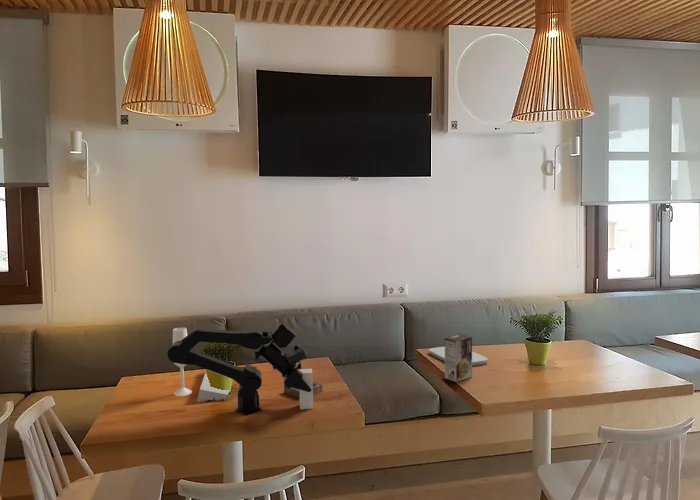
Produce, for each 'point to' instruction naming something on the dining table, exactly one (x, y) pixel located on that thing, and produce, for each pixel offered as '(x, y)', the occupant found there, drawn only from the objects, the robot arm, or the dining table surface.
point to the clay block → (305, 396)
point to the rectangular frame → (295, 392)
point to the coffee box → (458, 357)
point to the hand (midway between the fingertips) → (310, 387)
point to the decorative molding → (210, 392)
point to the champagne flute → (178, 336)
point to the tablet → (476, 358)
